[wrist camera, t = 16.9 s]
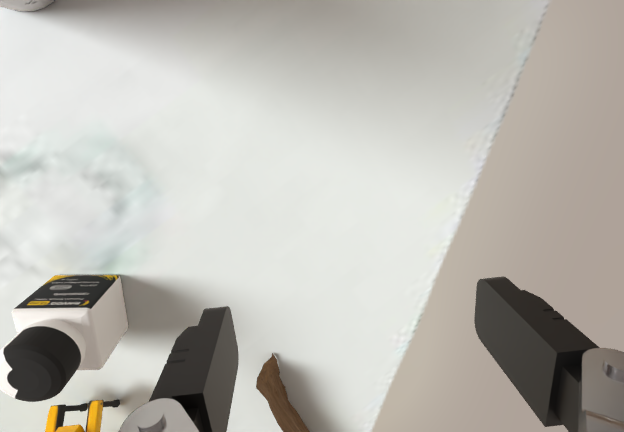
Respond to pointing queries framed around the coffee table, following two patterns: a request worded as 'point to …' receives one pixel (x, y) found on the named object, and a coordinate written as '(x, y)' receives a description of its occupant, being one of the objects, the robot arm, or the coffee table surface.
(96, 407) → the robot dog
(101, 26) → the coffee table surface
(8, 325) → the coffee table surface
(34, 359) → the medicine bottle
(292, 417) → the wood plank
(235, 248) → the coffee table surface
